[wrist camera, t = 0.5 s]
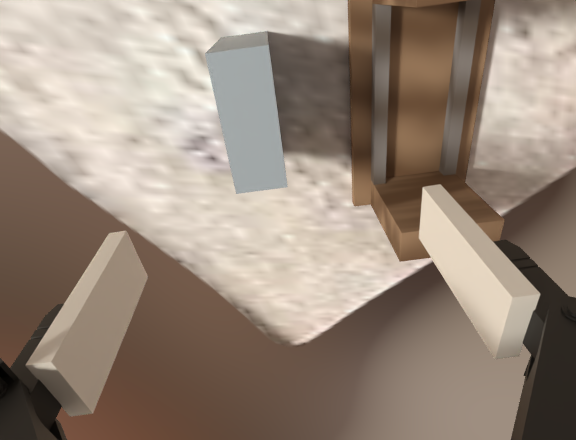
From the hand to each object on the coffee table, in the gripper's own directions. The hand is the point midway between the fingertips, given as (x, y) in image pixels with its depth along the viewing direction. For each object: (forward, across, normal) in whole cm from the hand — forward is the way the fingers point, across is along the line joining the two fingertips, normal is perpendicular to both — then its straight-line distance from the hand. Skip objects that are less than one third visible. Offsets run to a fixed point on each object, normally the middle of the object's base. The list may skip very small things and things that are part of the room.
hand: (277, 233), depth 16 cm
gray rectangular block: (+21, -1, +1) cm, 21 cm away
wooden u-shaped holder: (+21, +14, -1) cm, 25 cm away
